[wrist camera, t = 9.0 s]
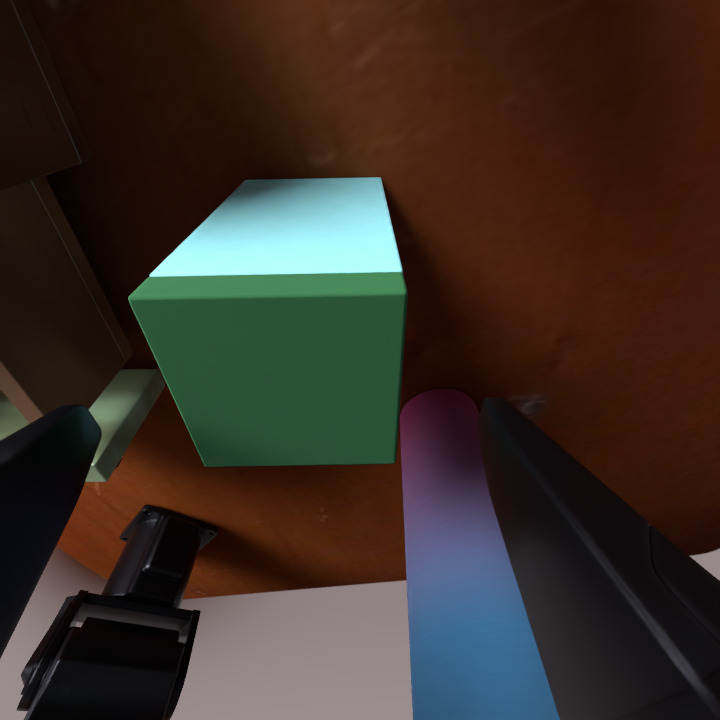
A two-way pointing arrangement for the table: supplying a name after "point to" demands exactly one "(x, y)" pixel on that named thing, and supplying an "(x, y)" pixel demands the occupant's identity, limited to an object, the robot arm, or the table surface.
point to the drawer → (62, 331)
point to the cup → (461, 576)
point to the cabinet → (32, 104)
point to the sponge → (284, 325)
